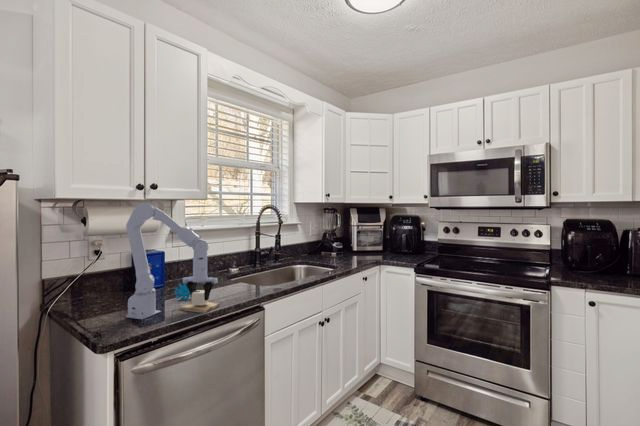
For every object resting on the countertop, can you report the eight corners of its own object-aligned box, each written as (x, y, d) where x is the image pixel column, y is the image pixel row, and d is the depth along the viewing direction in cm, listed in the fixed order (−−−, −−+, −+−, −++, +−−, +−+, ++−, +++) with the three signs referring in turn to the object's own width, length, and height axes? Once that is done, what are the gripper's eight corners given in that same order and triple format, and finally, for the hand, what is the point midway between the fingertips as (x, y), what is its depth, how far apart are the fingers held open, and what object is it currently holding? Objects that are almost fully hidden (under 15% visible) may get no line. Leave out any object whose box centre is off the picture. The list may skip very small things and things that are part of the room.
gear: (169, 297, 148) (179, 278, 155) (173, 303, 153) (183, 284, 160) (193, 301, 148) (202, 282, 154) (196, 307, 152) (204, 288, 159)
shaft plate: (204, 312, 132) (204, 304, 132) (180, 309, 136) (180, 301, 135) (219, 305, 141) (219, 297, 141) (196, 303, 145) (196, 295, 145)
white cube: (208, 301, 141) (208, 289, 140) (203, 305, 136) (203, 292, 135) (197, 301, 141) (197, 289, 141) (191, 305, 136) (191, 292, 136)
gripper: (178, 269, 135) (178, 301, 135) (212, 269, 133) (212, 303, 134) (187, 266, 142) (187, 297, 142) (219, 266, 140) (219, 298, 141)
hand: (200, 299), depth 138 cm, fingers closed on white cube, 5 cm apart
